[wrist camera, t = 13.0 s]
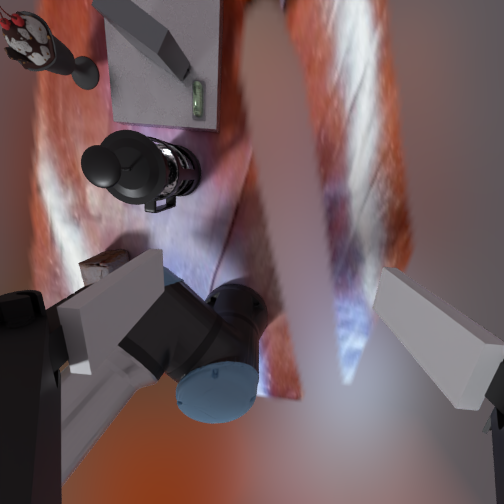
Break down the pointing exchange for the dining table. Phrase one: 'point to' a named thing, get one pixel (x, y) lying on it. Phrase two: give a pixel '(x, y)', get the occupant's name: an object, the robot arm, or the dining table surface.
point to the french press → (141, 169)
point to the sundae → (44, 49)
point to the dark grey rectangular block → (144, 34)
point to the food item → (102, 265)
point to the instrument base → (162, 82)
